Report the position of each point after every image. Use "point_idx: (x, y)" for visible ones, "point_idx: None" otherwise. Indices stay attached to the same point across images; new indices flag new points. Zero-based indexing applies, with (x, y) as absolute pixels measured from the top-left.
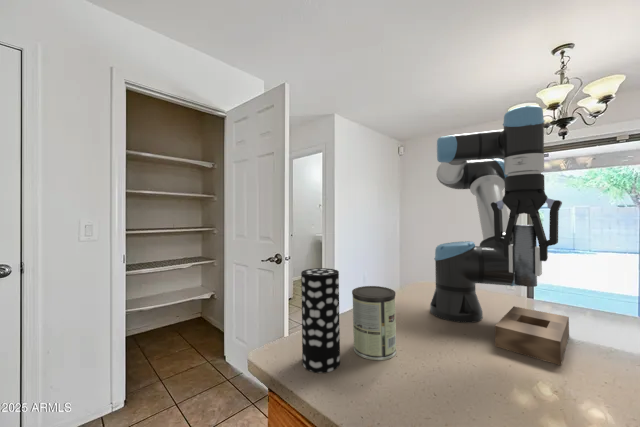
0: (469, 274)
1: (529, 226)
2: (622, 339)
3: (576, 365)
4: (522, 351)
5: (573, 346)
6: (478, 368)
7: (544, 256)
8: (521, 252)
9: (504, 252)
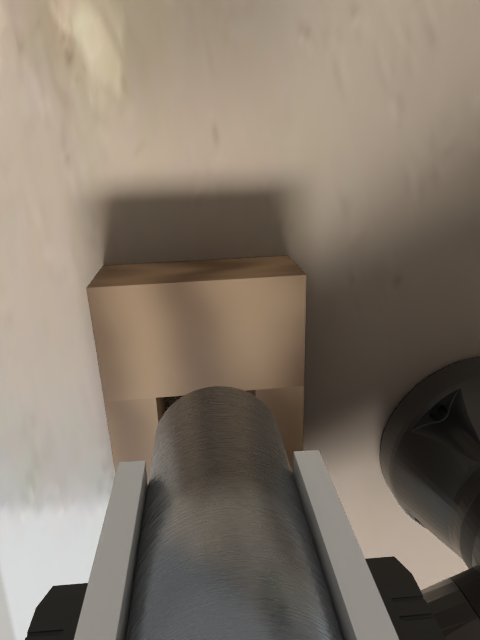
0: None
1: None
2: (29, 586)
3: (72, 302)
4: (206, 261)
5: None
6: (287, 19)
7: (45, 634)
8: (245, 587)
9: (421, 603)
